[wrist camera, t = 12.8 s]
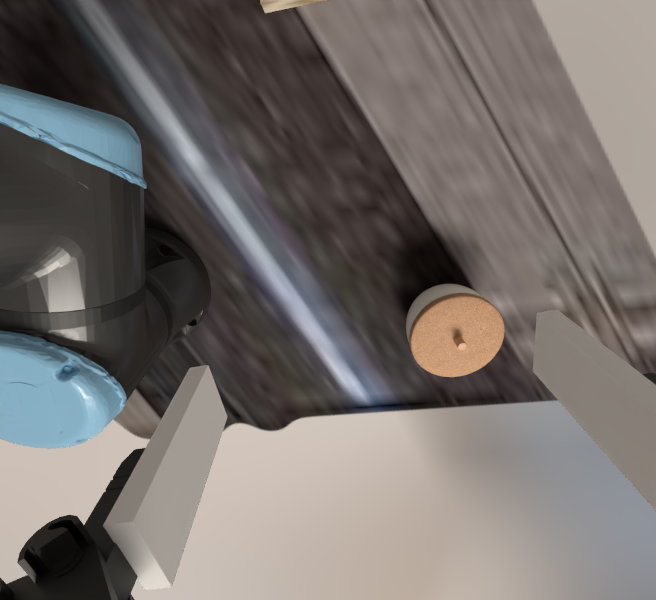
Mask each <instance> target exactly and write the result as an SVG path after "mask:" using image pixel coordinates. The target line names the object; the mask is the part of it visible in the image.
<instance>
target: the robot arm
mask: <svg viewBox="0 0 656 600" xmlns="http://www.w3.org/2000/svg"><path fill="white" fill-rule="evenodd" d="M146 185H147V184H146V182H145V181H144V179H143V169H142V154H141V143H140V140H139V137H138V135H137V133H136V132H135V130H134V129H133V128H132V127H131V126H130V125H129V124H128V123H127V122H126V121H124V120H122V119H121V118H118V117H116V116H113V115H110V114H106V113H103V112H100V111H96V110H93V109H89V108H86V107H82V106H79V105H75V104H72V103H68V102H65V101H61V100H58V99H54V98H50V97H47V96H43V95H40V94H36V93H32V92H29V91H25V90H22V89H18V88H14V87H11V86H7V85H3V84H0V439H2V440H5V441H8V442H11V443H15V444H19V445H23V446H28V447H35V448H48V449H51V448H52V449H53V448H65V447H70V446H74V445H78V444H81V443H84V442H86V441H87V440H88V439H91V438H92V437H95V436H96V435H98V434H99V433H100V432H101V431H102V430H103V429H104V428H105V427H106V426H107V425H108V424H109V423H110V422H111V421H112V420H113V419H114V417H115V416H116V415H118V414H119V413H120V412H121V411H122V409H123V408H124V406H125V404H126V401H127V400H128V398H129V397H130V395H131V394H132V393H133V391H134V390H135V388H136V387H137V385H138V384H139V383H140V381H141V380H142V378H143V377H144V376H145V374H146V373H147V371H148V370H149V369H150V367H151V366H152V364H153V363H154V361H155V360H156V359H157V357H158V356H159V354H160V353H161V352H162V350H163V349H164V348H165V347H167V346H169V345H171V344H173V343H175V342H177V341H179V340H181V339H183V338H184V337H186V336H187V335H189V334H190V333H191V332H192V331H193V330H194V329H195V328H196V327H197V326H198V325H199V323H200V322H201V320H202V318H203V317H204V315H205V313H206V312H207V309H208V307H209V303H210V297H211V288H210V281H209V278H208V275H207V272H206V270H205V267H204V266H203V264H202V262H201V261H200V259H199V258H198V256H197V255H196V254H195V253H194V252H193V251H192V250H191V249H190V248H189V247H188V246H187V245H186V244H185V243H183V242H182V241H181V240H179V239H178V238H176V237H174V236H172V235H170V234H168V233H166V232H163V231H161V230H157V229H154V228H148V227H145V224H144V189H146ZM533 372H534V373H535V374H536V375H537V377H538V378H539V379H540V380H541V381H542V382H543V383H544V384H545V386H546V387H547V388H548V389H549V390H550V391H551V392H552V394H553V395H554V396H555V397H556V398H557V399H558V400H559V402H560V403H561V404H562V405H563V406H564V407H565V408H566V409H567V411H568V412H569V413H570V414H571V415H572V416H573V417H574V419H576V421H577V422H578V423H579V424H580V425H581V427H582V428H583V429H584V430H585V431H586V432H587V433H588V435H589V436H590V437H591V438H592V439H593V440H594V441H595V442H596V444H597V445H599V447H600V448H601V449H602V450H603V451H604V453H605V454H606V455H607V456H608V457H609V458H610V460H611V461H612V462H613V463H614V464H615V465H616V466H617V467H618V469H619V470H620V471H621V472H622V473H623V474H624V475H625V477H626V478H627V479H628V480H629V481H630V482H631V483H632V484H633V486H634V487H635V488H636V489H637V490H638V491H639V493H640V494H641V495H642V496H643V497H644V498H645V499H646V500H647V502H648V503H649V504H650V505H651V506H652V507H653V508H654V509H655V511H656V374H655V373H647V374H641V373H640V372H638V371H637V370H636V369H634V368H633V367H632V366H630V365H629V364H628V363H626V362H625V361H624V360H622V359H621V358H620V357H619V356H617V355H616V354H615V353H613V352H612V351H611V350H609V349H608V348H607V347H605V346H604V345H603V344H601V343H600V342H599V341H597V340H596V339H595V338H594V337H592V336H591V335H590V334H588V333H587V332H586V331H584V330H583V329H582V328H580V327H579V326H578V325H576V324H575V323H574V322H572V321H571V320H570V319H569V318H567V317H566V316H565V315H563V314H562V313H561V312H559V311H558V310H553V311H546V312H540V313H537V319H536V333H535V348H534V363H533ZM226 420H227V415H226V412H225V409H224V407H223V404H222V401H221V399H220V396H219V393H218V390H217V388H216V385H215V382H214V380H213V377H212V374H211V371H210V369H209V366H208V365H205V366H199V367H192V368H190V369H189V370H188V372H187V374H186V376H185V378H184V380H183V381H182V383H181V385H180V387H179V389H178V390H177V392H176V394H175V396H174V398H173V399H172V401H171V403H170V405H169V407H168V409H167V410H166V412H165V414H164V416H163V418H162V419H161V421H160V423H159V425H158V427H157V428H156V430H155V432H154V434H153V436H152V437H151V439H150V441H149V443H148V445H147V447H146V448H142V449H136V450H134V451H133V452H132V453H131V454H130V455H129V456H128V457H127V458H126V459H125V460H124V461H123V462H122V463H121V465H120V467H119V468H118V470H117V471H116V473H115V475H114V476H113V480H111V482H110V483H109V485H108V486H107V488H106V492H104V493H103V495H102V497H101V498H100V500H99V502H98V503H97V505H96V506H95V508H94V510H93V511H92V513H91V515H90V517H89V518H88V520H87V521H86V523H85V525H83V524H82V522H81V521H80V520H79V518H78V517H77V516H73V515H67V516H63V517H59V518H57V519H55V520H53V521H51V522H49V523H47V524H46V525H45V526H43V527H42V528H41V529H39V530H38V531H37V532H36V533H35V534H34V535H33V536H32V537H31V538H30V539H29V540H28V541H27V542H26V544H25V545H24V547H23V548H22V550H21V552H20V554H19V558H18V564H19V565H20V566H21V567H22V568H23V570H24V571H25V572H26V573H27V574H28V575H27V576H25V577H22V578H20V579H17V580H15V581H13V582H10V583H8V584H6V583H5V582H4V581H3V580H2V579H1V578H0V600H134V598H133V597H132V595H131V591H132V588H133V586H134V584H135V581H136V579H138V580H139V582H140V583H141V585H142V586H143V588H144V589H145V590H150V589H159V588H166V587H172V585H173V582H174V579H175V576H176V572H177V569H178V566H179V563H180V560H181V557H182V554H183V551H184V548H185V545H186V542H187V539H188V536H189V533H190V530H191V527H192V523H193V520H194V517H195V514H196V511H197V508H198V505H199V502H200V499H201V496H202V493H203V490H204V487H205V484H206V480H207V478H208V475H209V471H210V468H211V465H212V462H213V459H214V456H215V453H216V450H217V447H218V444H219V441H220V438H221V434H222V432H223V429H224V426H225V423H226Z"/></svg>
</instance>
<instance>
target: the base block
mask: <svg viewBox="0 0 656 600" xmlns="http://www.w3.org/2000/svg"><path fill="white" fill-rule="evenodd" d="M321 1H326V0H260V3H261V5H262V7H263V10H264V12H265V13H268V12H273V11H278V10H283V9H288V8H292V7H297V6H302V5H307V4H312V3H316V2H321Z"/></svg>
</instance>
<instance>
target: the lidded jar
mask: <svg viewBox="0 0 656 600" xmlns="http://www.w3.org/2000/svg"><path fill="white" fill-rule="evenodd" d="M406 332H407V337H408V341H409V344H410V349H411V352H412V354H413V356H414V358H415V360H416V361H417V363H418V364H419V365H420V366H421V367H422V368H424V369H425V370H426V371H428V372H430V373H432V374H435V375H439V376H444V377H456V376H462V375H467V374H469V373H472V372H474V371H476V370H478V369H480V368H482V367H483V366H485V365H486V364H487V363H488V362H489V361H491V359H492V358H493V357H494V356H495V355H496V353H497V352H498V350H499V348H500V346H501V344H502V341H503V338H504V323H503V319H502V317H501V315H500V313H499V311H498V310H497V309H496V308H495V307H494V306H493V305H492V304H491V303H490V302H489V301H488V300H486V299H485V298H483V297H482V296H481V295H480V294H479V293H477V292H475V291H474V290H472V289H470V288H467V287H465V286H462V285H458V284H440V285H436V286H433V287H431V288H429V289H427V290H425V291H424V292H422V293H421V294H420V295H419V296H418V297H417V298H416V299H415V300H414V302H413V303H412V305H411V307H410V309H409V311H408V314H407V319H406Z"/></svg>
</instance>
